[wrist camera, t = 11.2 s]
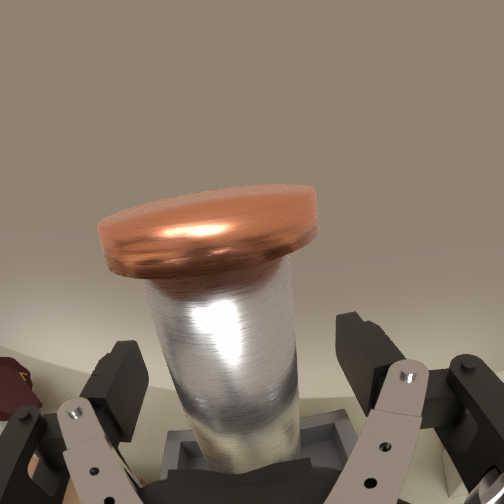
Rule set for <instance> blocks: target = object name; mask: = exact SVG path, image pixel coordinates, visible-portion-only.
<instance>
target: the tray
mask: <svg viewBox="0 0 504 504" xmlns="http://www.w3.org/2000/svg"><path fill="white" fill-rule="evenodd" d="M357 440H358V438H357V436H356V434H355V431H354V429H353V427H352V424H351V422H350V420H349V417H348V415H347V413H346V411H345V409H341V410H337V411H333V412H328V413H324V414H319V415H314V416H309V417H304V418H300V445H301V459H302V458H308V457H310V460H311V464H312V466H323V467H330V468H335V469H339V470H342V471H343V469H344V467H345V465H346V463H347V461H348V459H349V457H350V455H351V453H352V451H353V449H354V447H355V445H356V442H357ZM168 469H183V470H188V469H203V470H208V471H210V469H209V467H208V465H207V463H206V460H205V458H204V456H203V454H202V452H201V449H200V447H199V445H198V443H197V440H196V438H195V436H194V433H193V431H192V430H186V431H168V434H167V440H166V445H165V451H164V457H163V463H162V469H161V475H160V480H162V479H167V474H168Z"/></svg>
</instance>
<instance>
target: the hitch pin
mask: <svg viewBox="0 0 504 504" xmlns="http://www.w3.org/2000/svg"><path fill="white" fill-rule="evenodd" d="M97 228H98V232H99V237H100V241H101V246H102V250H103V254H104V258H105V262H106V266H107V268H108V269H109V270H110V271H111V272H113V273H115V274H118V275H121V276H124V277H130V278H138V279H142V282H143V285H144V290H145V293H146V297H147V300H148V304H149V308H150V311H151V315H152V318H153V322H154V325H155V328H156V331H157V335H158V338H159V341H160V344H161V348H162V351H163V354H164V357H165V360H166V362H167V366H168V368H169V371H170V374H171V377H172V380H173V383H174V385H175V388H176V391H177V393H178V396H179V399H180V401H181V404H182V406H183V409H184V412H185V414H186V417H187V419H188V421H189V424H190V426H191V429H192V431H193V433H194V436H195V438H196V440H197V443H198V445H199V447H200V449H201V452H202V454H203V456H204V458H205V460H206V463H207V465H208V467H209V469H210V471H214V472H221V473H228V474H242V473H246V472H249V471H252V470H255V469H258V468H262V467H265V466H268V465H270V464H273V463H279V462H285V461H291V460H297V459H301V445H300V415H299V391H298V373H297V355H296V339H295V323H294V309H293V295H292V284H291V271H290V259H289V254H290V253H292V252H294V251H296V250H298V249H300V248H302V247H304V246H305V245H307V244H308V243H310V242H311V241H312V240H313V239H314V238H315V237H316V236H317V234H318V231H319V227H318V213H317V202H316V191H315V188H314V187H312V186H308V185H300V184H267V185H251V186H241V187H232V188H223V189H216V190H209V191H203V192H198V193H192V194H186V195H181V196H176V197H171V198H167V199H162V200H158V201H154V202H150V203H146V204H143V205H139V206H135V207H132V208H129V209H126V210H123V211H120V212H117V213H115V214H112V215H110V216H108V217H106V218H104V219H102V220H100V221H99V222H98V223H97Z"/></svg>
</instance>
